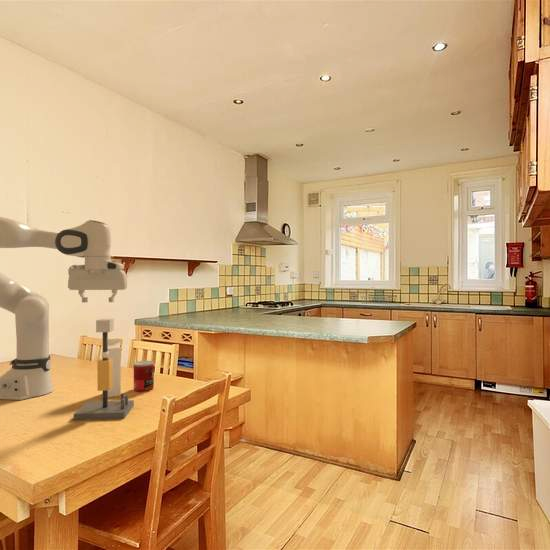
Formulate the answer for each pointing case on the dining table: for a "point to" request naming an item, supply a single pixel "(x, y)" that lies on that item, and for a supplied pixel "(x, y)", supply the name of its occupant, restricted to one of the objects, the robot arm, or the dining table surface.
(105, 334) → the stand
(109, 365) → the sleeve
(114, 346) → the milk
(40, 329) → the robot arm
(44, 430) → the dining table surface
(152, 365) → the canned food
